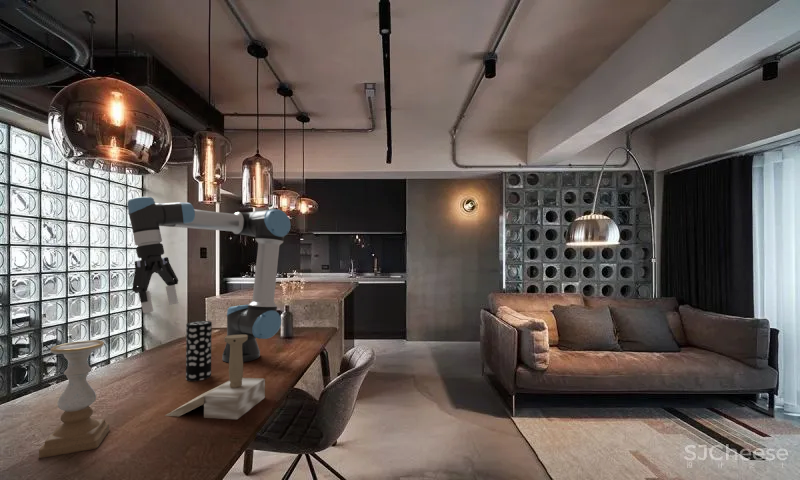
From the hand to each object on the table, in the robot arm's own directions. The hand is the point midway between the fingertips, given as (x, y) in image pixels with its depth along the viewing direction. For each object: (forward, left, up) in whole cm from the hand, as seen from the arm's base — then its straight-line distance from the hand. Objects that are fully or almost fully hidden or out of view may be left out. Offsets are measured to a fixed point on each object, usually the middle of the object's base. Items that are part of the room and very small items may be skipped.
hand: (161, 308), depth 127 cm
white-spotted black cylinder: (-17, +1, -28) cm, 33 cm away
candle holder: (+32, +3, -28) cm, 43 cm away
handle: (+7, +30, -22) cm, 38 cm away
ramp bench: (+7, +24, -30) cm, 39 cm away
